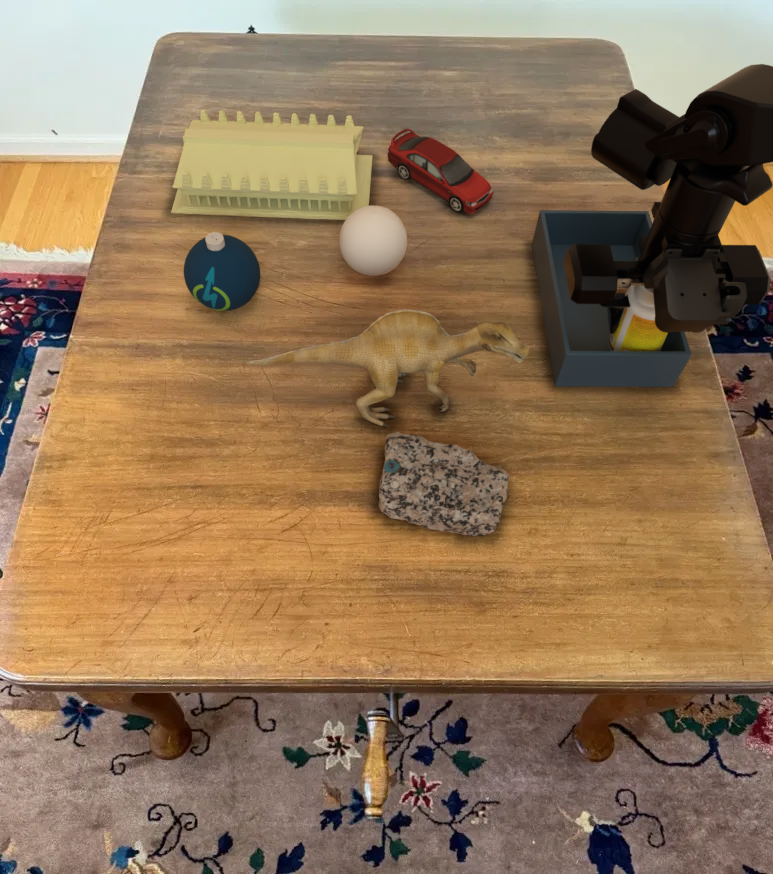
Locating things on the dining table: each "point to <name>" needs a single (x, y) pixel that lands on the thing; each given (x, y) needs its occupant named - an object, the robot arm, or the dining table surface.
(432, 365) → the dinosaur figurine
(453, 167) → the toy car
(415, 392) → the dining table surface
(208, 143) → the model building
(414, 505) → the rock
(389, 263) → the ball
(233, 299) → the christmas ornament
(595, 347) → the storage tote
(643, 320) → the supplement bottle
